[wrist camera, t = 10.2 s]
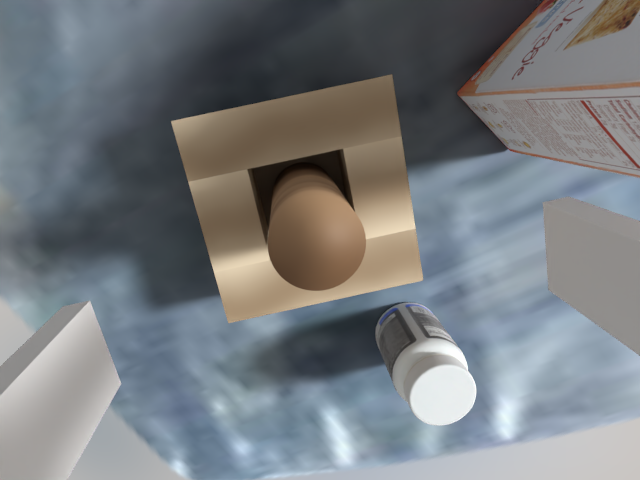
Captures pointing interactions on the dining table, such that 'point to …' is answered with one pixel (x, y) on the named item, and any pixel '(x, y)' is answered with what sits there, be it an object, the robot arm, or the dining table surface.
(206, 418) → the dining table surface
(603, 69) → the cracker box
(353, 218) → the pin
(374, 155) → the bore block
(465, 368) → the pill bottle
